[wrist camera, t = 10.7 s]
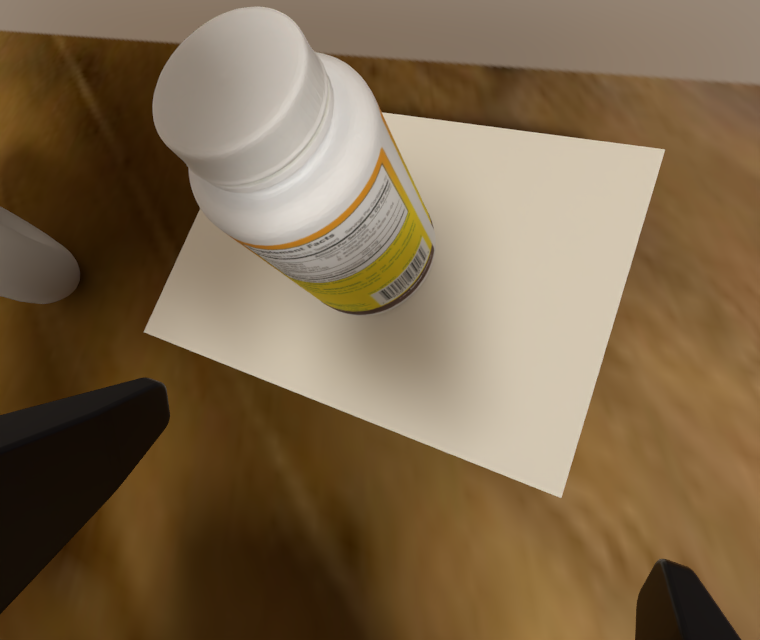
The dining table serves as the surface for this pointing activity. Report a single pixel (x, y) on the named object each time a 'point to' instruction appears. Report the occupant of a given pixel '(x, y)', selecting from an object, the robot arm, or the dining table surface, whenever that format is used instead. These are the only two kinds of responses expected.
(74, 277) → the donut
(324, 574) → the dining table surface
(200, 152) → the supplement bottle
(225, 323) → the box
